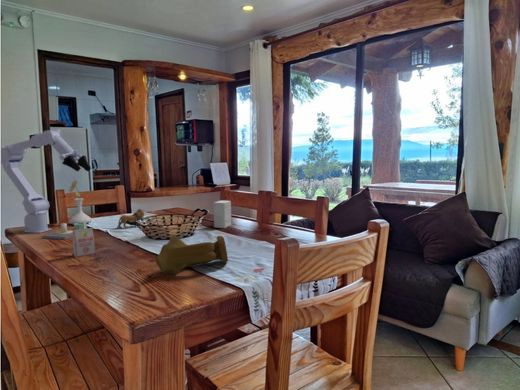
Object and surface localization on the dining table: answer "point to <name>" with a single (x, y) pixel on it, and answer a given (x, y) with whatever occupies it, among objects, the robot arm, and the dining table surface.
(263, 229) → the dining table surface
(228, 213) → the small box
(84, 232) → the grey printed carton
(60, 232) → the post stand
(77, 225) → the ring
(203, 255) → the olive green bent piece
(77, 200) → the flower in vase
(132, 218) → the lion figurine
